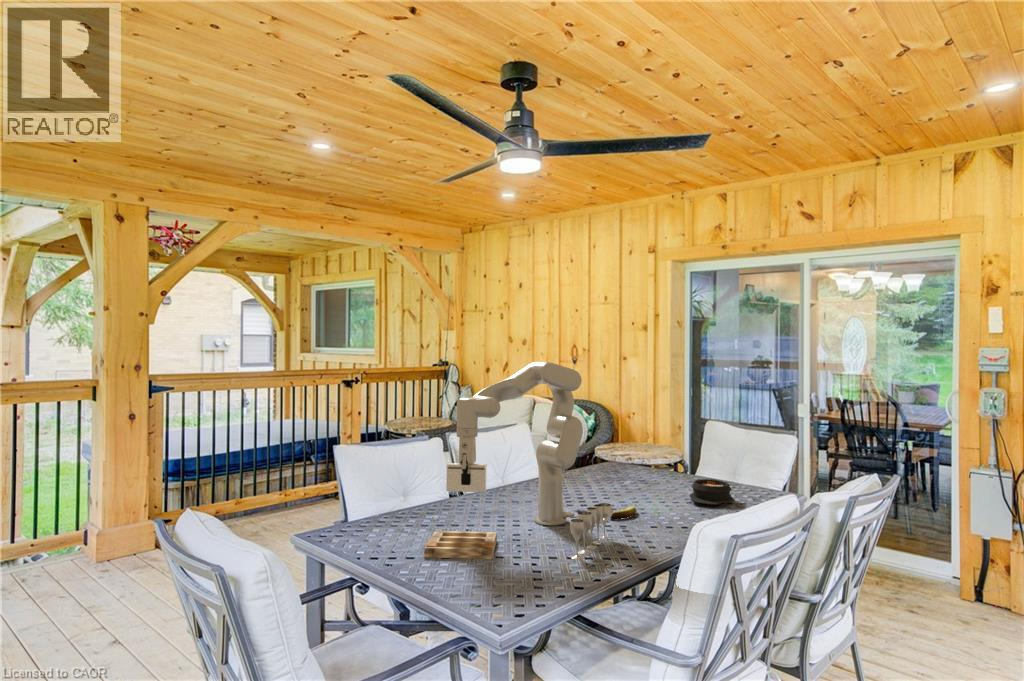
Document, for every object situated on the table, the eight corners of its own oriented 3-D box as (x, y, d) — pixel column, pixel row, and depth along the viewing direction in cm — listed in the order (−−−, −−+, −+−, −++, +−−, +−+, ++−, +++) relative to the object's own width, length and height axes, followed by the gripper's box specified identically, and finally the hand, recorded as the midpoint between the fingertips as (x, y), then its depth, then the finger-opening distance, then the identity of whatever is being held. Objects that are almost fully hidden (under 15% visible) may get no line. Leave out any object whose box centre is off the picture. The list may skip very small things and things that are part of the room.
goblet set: (582, 561, 189) (582, 519, 189) (565, 557, 192) (566, 516, 192) (615, 537, 213) (615, 500, 213) (600, 534, 216) (600, 498, 216)
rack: (496, 540, 208) (496, 531, 208) (491, 559, 190) (491, 548, 190) (435, 539, 210) (435, 530, 210) (424, 557, 192) (424, 547, 192)
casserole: (699, 493, 278) (699, 475, 279) (740, 499, 268) (740, 480, 268) (680, 504, 258) (680, 485, 258) (724, 511, 247) (724, 491, 247)
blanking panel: (486, 490, 212) (486, 464, 212) (485, 492, 210) (485, 465, 210) (447, 489, 213) (448, 463, 214) (446, 491, 211) (446, 464, 211)
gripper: (474, 435, 204) (473, 489, 203) (480, 429, 220) (479, 479, 219) (452, 435, 204) (451, 488, 204) (460, 429, 220) (460, 478, 220)
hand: (466, 483), depth 212 cm, fingers closed on blanking panel, 2 cm apart
